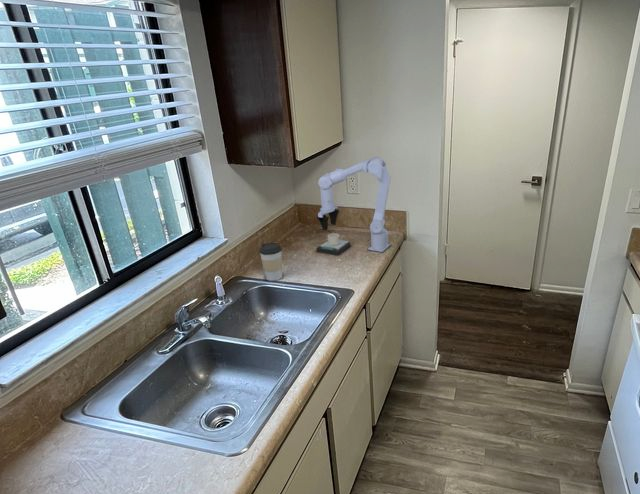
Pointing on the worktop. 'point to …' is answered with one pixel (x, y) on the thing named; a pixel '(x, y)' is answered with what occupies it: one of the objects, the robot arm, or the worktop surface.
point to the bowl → (333, 239)
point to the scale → (334, 247)
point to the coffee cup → (271, 260)
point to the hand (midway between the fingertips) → (329, 226)
